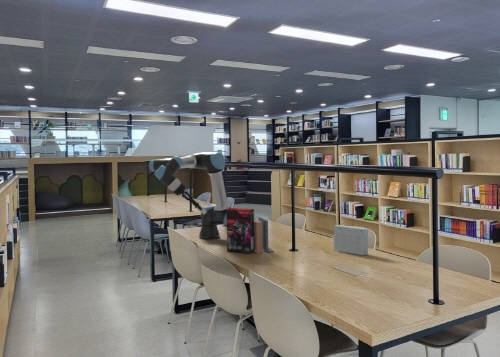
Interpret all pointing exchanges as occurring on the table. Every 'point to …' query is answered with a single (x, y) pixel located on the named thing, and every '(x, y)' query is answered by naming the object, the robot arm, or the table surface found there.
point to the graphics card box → (240, 230)
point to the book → (258, 236)
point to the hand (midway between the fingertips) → (205, 213)
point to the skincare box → (351, 239)
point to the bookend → (265, 235)
